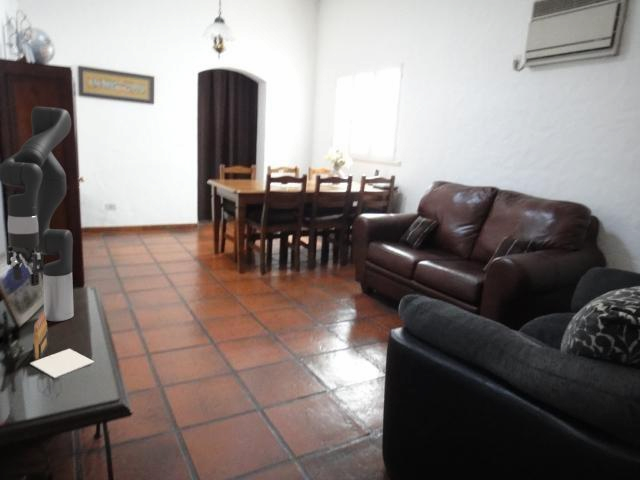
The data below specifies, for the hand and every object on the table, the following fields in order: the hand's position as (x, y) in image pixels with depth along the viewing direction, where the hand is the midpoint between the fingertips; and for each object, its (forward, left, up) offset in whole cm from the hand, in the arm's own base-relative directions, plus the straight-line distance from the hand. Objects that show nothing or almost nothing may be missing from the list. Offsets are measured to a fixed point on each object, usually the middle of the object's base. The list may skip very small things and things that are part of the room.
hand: (25, 282), depth 135 cm
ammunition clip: (+4, +2, -23) cm, 23 cm away
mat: (+15, +2, -23) cm, 27 cm away
